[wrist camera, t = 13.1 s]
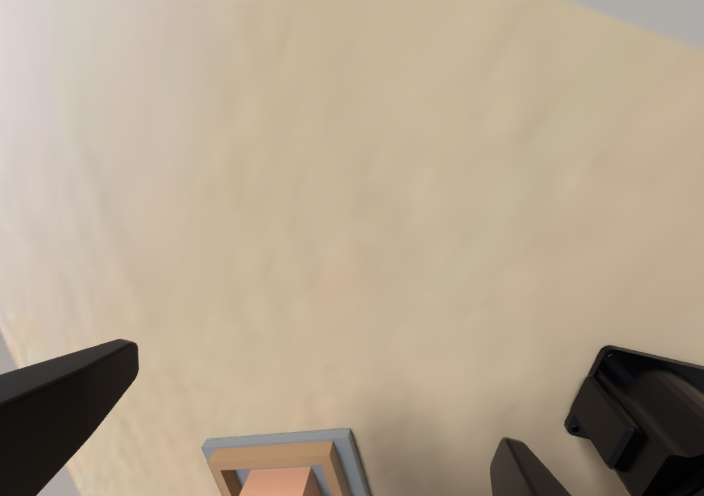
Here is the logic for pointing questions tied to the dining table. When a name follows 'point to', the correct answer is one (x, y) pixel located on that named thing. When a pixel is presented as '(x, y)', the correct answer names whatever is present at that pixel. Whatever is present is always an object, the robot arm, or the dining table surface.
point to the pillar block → (281, 482)
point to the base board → (288, 459)
